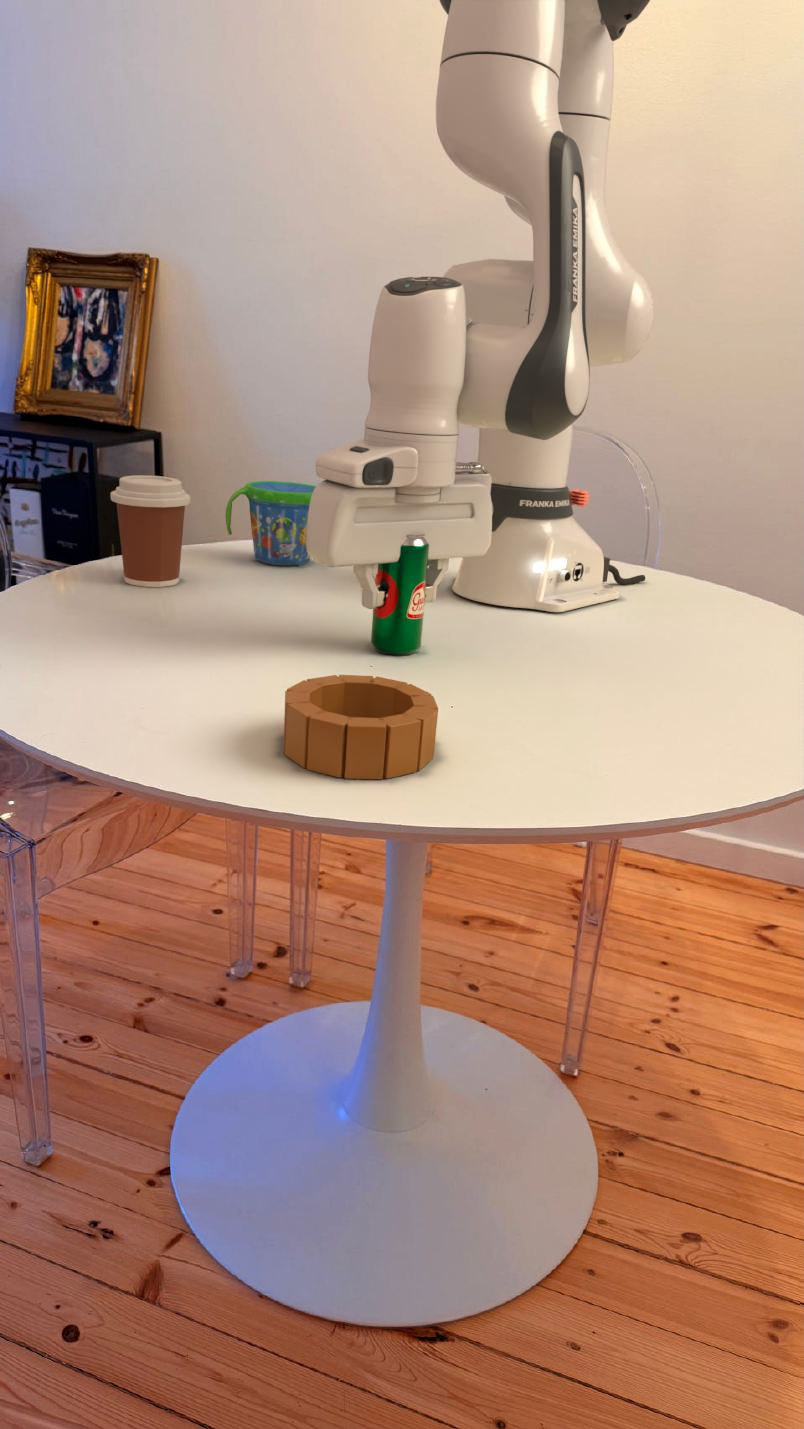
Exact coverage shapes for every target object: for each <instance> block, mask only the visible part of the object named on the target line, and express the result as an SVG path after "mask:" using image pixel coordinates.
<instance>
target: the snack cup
mask: <svg viewBox="0 0 804 1429" xmlns="http://www.w3.org/2000/svg"><path fill="white" fill-rule="evenodd" d="M316 486H317V485H312V484H307V483H300V482H292V481H279V480H278V481H277V480H257V481H249V482H247V483H246V484H245V486H243V487H241V488H238V489H237V490H235V492H233V494H231V496H230V497H229V500H228V501H227V503H226V508H225V524H226V530H227V533H228V535H229V536H232V534H233V533H232V529H231V528H232V527H231V524H232V523H231V522H232V510H233V502H234V501H235V500H237V499H238V497H239V496H240V495H245V496H246V498H247V500H248V504H249V516H250V517H249V518H250V529H251V537H252V543H253V544H252V545H253V552H254V559H255V560H257V561H259V562H261V563H264V564H269V565H273V566H301V565H306V563H308V562H310V560H311V557H310V555H309V553H308V552H307V549H306V534H307V521H308V512H309V505H310V500H311V496H312V493H313V491H314V489H315V487H316Z"/></svg>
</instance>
